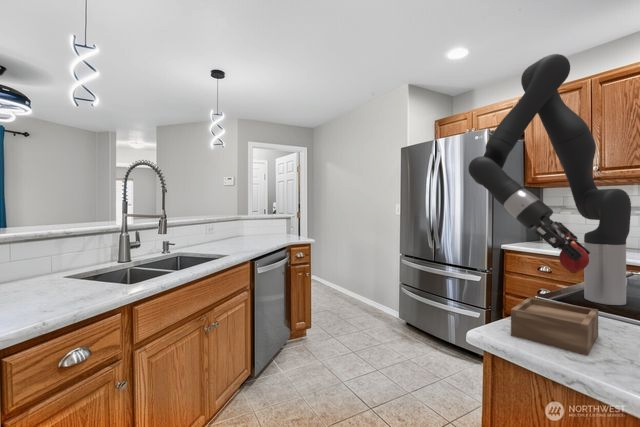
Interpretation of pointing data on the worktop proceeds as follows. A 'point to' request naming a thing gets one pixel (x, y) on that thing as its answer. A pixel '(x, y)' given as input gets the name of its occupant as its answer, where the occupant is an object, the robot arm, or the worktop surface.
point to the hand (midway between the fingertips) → (582, 256)
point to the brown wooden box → (555, 324)
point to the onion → (574, 265)
